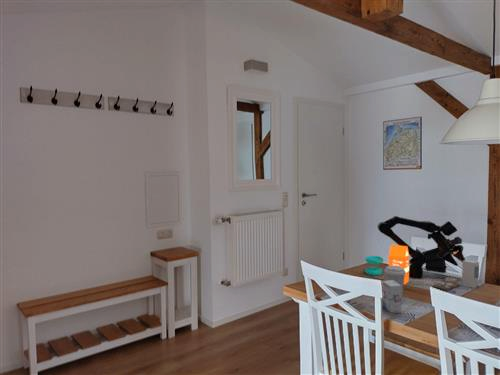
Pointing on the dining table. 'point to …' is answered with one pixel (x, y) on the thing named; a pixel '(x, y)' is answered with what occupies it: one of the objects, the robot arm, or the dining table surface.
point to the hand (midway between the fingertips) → (461, 264)
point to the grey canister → (395, 275)
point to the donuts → (374, 270)
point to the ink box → (392, 296)
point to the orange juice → (400, 259)
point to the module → (470, 273)
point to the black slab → (434, 261)
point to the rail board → (446, 284)
